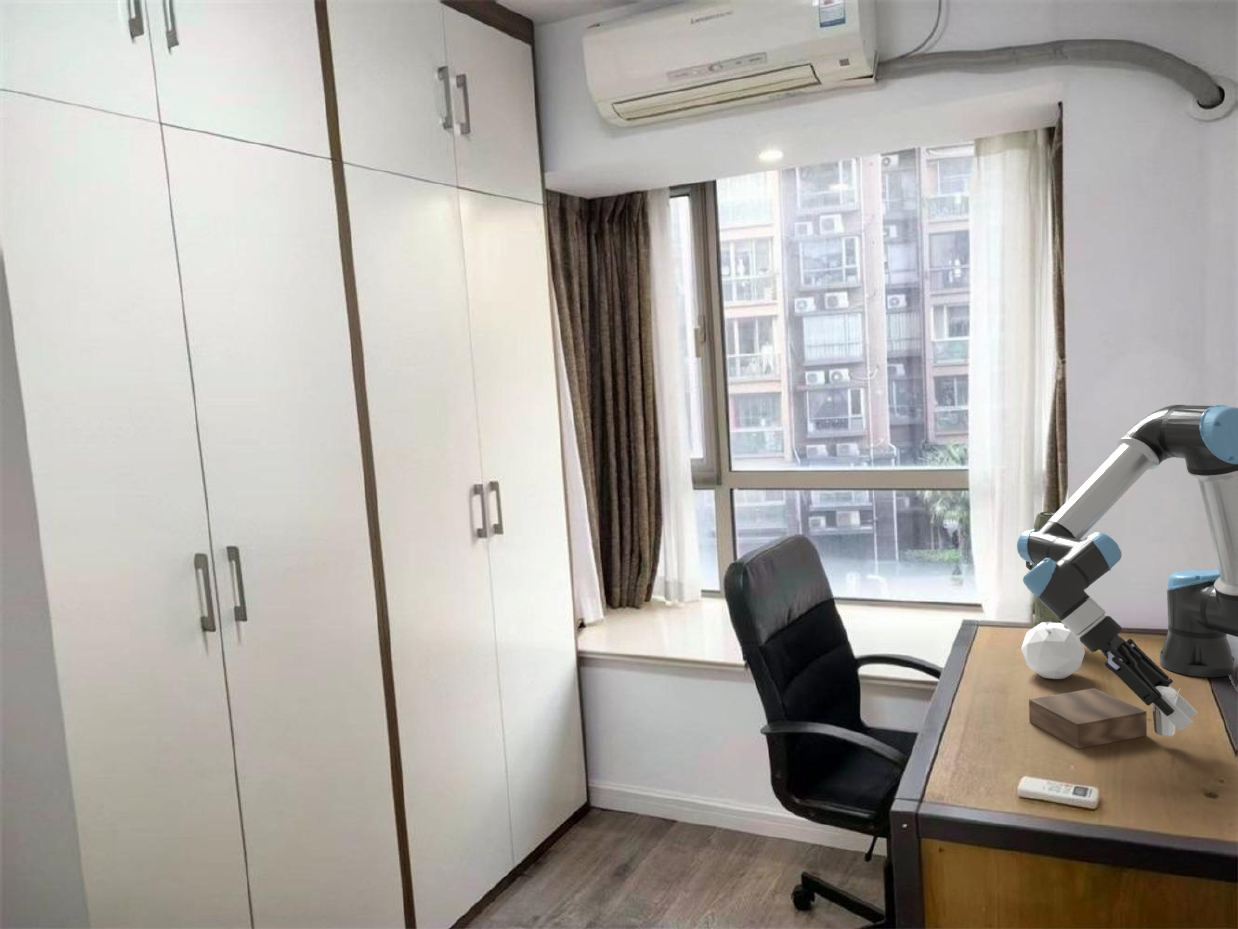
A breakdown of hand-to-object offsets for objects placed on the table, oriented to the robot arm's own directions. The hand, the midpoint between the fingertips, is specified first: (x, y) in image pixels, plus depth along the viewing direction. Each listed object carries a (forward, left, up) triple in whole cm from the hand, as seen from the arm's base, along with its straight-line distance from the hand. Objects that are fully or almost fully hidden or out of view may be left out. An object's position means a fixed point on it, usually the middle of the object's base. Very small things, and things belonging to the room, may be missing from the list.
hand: (1189, 721), depth 170 cm
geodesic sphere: (-4, -42, -6) cm, 43 cm away
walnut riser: (+10, -15, -6) cm, 19 cm away
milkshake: (+2, -3, -3) cm, 5 cm away
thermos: (-19, -61, -6) cm, 64 cm away
